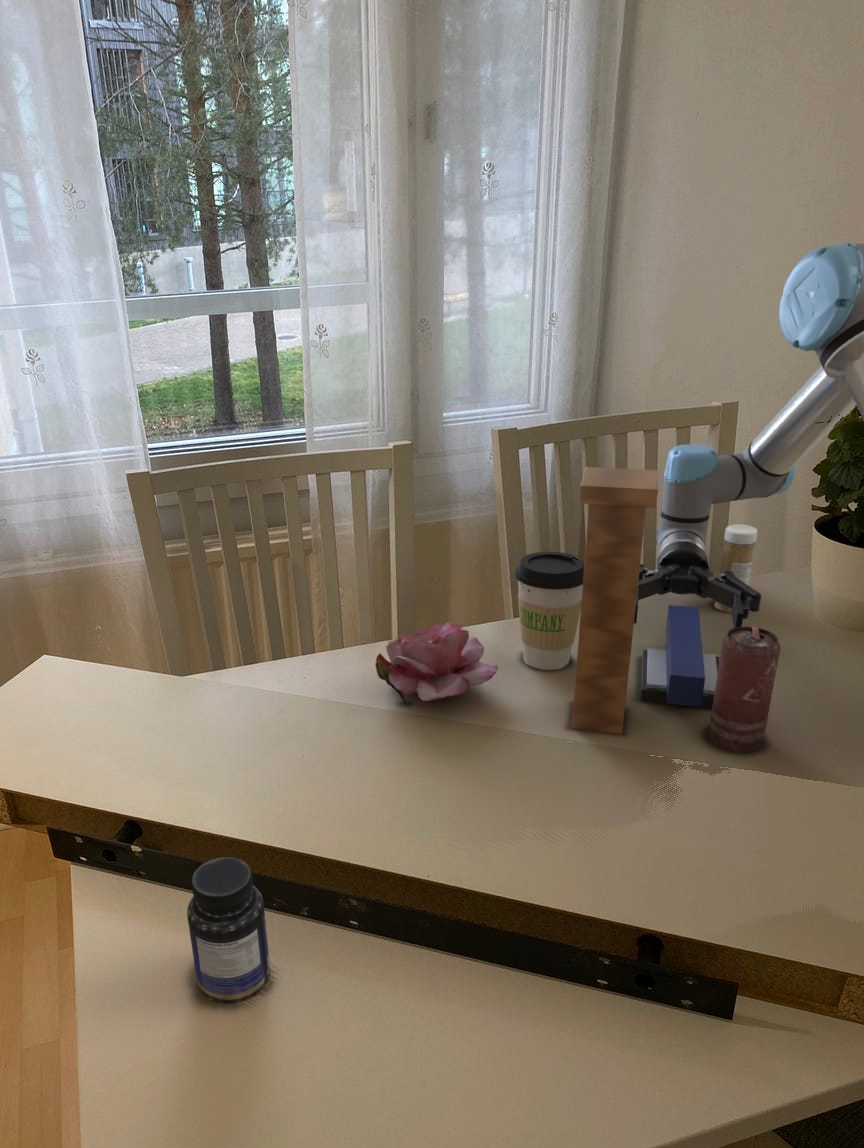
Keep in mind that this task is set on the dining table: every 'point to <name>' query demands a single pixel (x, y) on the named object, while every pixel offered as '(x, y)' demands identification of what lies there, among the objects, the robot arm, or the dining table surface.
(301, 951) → the dining table surface
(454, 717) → the dining table surface
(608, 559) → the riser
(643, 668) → the scale
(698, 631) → the spaghetti box
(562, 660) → the coffee cup
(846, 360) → the robot arm
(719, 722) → the can
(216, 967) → the pill bottle
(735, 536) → the sprinkles bottle
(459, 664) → the flower
